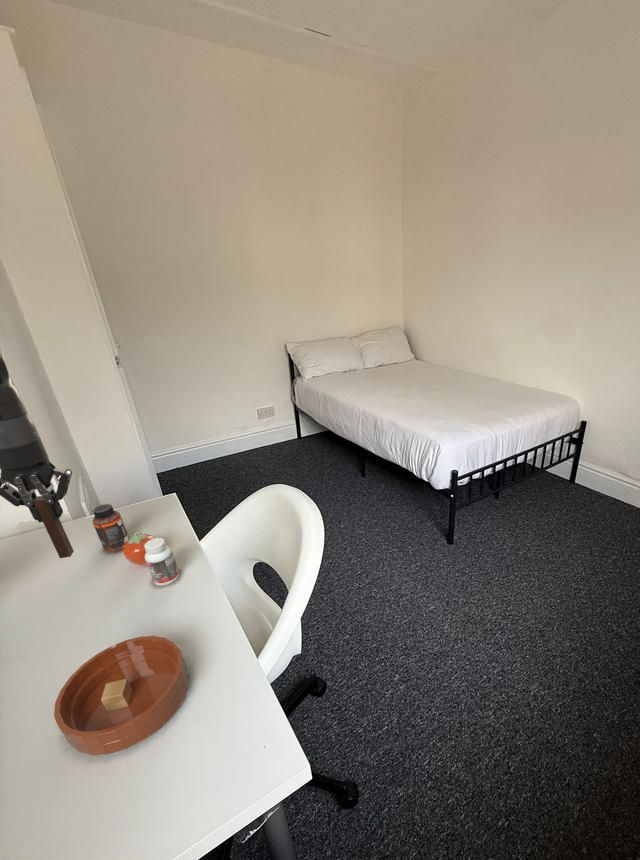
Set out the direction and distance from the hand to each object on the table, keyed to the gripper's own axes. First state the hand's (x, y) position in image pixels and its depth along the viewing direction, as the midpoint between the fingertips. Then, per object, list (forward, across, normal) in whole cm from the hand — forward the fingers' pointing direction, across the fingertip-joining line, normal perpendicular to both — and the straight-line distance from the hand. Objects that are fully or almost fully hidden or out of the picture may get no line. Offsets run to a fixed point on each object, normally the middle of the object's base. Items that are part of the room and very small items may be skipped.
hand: (50, 518), depth 84 cm
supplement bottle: (+18, -4, -14) cm, 23 cm away
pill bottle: (+18, -18, +4) cm, 26 cm away
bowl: (+18, -17, +35) cm, 43 cm away
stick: (+9, 0, 0) cm, 9 cm away
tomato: (+18, -12, -5) cm, 22 cm away
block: (+17, -16, +35) cm, 42 cm away
